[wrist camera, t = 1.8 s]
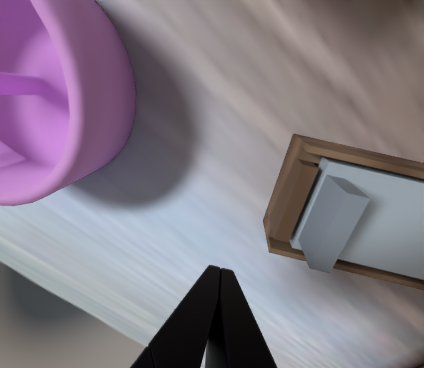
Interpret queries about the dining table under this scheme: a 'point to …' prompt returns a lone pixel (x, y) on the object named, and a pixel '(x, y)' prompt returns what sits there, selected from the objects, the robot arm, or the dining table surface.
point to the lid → (362, 219)
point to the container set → (59, 95)
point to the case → (301, 184)
